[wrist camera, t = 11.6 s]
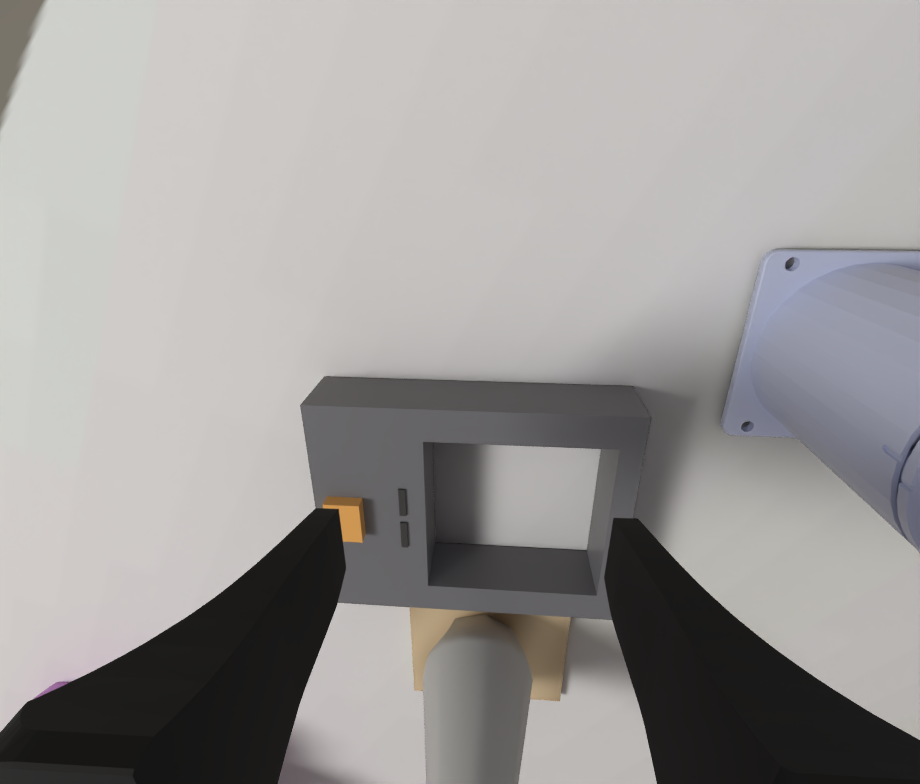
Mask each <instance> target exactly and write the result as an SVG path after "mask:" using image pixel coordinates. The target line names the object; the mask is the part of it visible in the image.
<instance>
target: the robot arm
mask: <svg viewBox="0 0 920 784" xmlns="http://www.w3.org/2000/svg"><path fill="white" fill-rule="evenodd" d="M792 257H793V258H794V264H793V265H792V267H790V268H789V269H786V268H785V263H786V261H787V260H788V259H790V258H792ZM747 421H750V423H749V425H748V426H746V427H741V426H742V424H743V423H744V422H747ZM721 427H722V429H723V430H724V432H725V433H727V434H728V435H733V436H760V437H787V438H797V439H798V440H799V441H800V442H802V443H803V444H804V445H805V446H806V447H807V448H808V449H809V450H810V451H811V452H812V453H813V454H815V455H816V456H817V457H818V458H819V459H820V460H821V461H822V462H823V463H824V464H825V465H826V466H827V467H829V468H830V469H831V470H832V471H833V472H834V473H835V474H836V475H837V476H838V477H839V478H840V479H841V480H843V481H844V482H845V483H846V484H847V485H848V486H849V487H850V488H851V489H852V490H853V491H854V492H856V493H857V494H858V495H859V496H860V497H861V498H862V499H863V500H864V501H865V502H866V503H867V504H868V505H870V506H871V507H872V508H873V509H874V510H875V511H876V512H877V513H878V514H879V515H880V516H881V517H882V518H884V519H885V520H886V521H887V522H888V523H889V524H890V525H891V526H892V527H893V528H894V529H895V530H896V531H898V532H899V533H900V534H901V535H902V536H903V537H904V538H905V539H906V540H907V541H908V542H909V543H911V544H912V545H913V546H914V547H915V548H916V549H917V550H918V552H919V553H920V251H899V250H813V249H775V250H771V251H769V252H768V253H766V254H765V255H764V257H763V258H762V260H761V263H760V267H759V271H758V275H757V279H756V283H755V287H754V291H753V295H752V299H751V303H750V307H749V311H748V315H747V319H746V323H745V327H744V331H743V335H742V339H741V343H740V347H739V351H738V355H737V359H736V363H735V367H734V371H733V375H732V379H731V383H730V387H729V391H728V395H727V399H726V403H725V407H724V411H723V415H722V419H721ZM345 571H346V562H345V554H344V546H343V538H342V530H341V523H340V515H339V509H327V508H316V509H315V510H314V511H313V512H312V513H310V514H309V515H308V516H307V517H306V518H305V519H304V520H303V521H302V522H301V523H300V524H299V525H298V526H297V527H296V528H295V529H294V530H292V531H291V532H290V533H289V534H288V535H287V536H286V537H285V538H284V539H283V540H282V541H281V542H280V543H279V544H278V545H277V546H275V547H274V548H273V549H272V550H271V551H270V552H269V553H268V554H267V555H266V556H264V557H263V558H262V559H261V560H260V561H259V562H258V563H257V564H256V565H254V566H253V567H252V568H251V569H250V570H248V571H247V572H246V573H245V574H244V575H242V576H241V577H240V578H239V579H238V580H236V581H235V582H234V583H233V584H232V585H230V586H229V587H228V588H227V589H225V590H224V591H223V592H221V593H220V594H219V595H217V596H216V597H215V598H213V599H212V600H211V601H209V602H208V603H206V604H205V605H203V606H202V607H201V608H199V609H198V610H196V611H195V612H194V613H192V614H191V615H189V616H188V617H186V618H185V619H183V620H181V621H180V622H178V623H177V624H175V625H173V626H172V627H170V628H169V629H167V630H165V631H164V632H162V633H161V634H159V635H157V636H156V637H154V638H153V639H151V640H149V641H148V642H146V643H144V644H143V645H141V646H139V647H137V648H136V649H134V650H132V651H130V652H128V653H127V654H125V655H123V656H121V657H119V658H117V659H116V660H114V661H112V662H110V663H108V664H106V665H104V666H102V667H100V668H99V669H97V670H95V671H93V672H91V673H89V674H87V675H85V676H83V677H80V678H78V679H76V680H74V681H72V682H70V683H68V684H65V685H63V686H61V687H59V688H57V689H55V690H53V691H50V692H48V693H46V694H44V695H42V696H40V697H38V698H35V699H33V700H31V701H28V702H27V703H26V704H25V705H24V706H23V707H22V708H21V709H20V710H19V712H18V713H17V714H16V715H15V716H14V717H13V719H12V720H11V721H10V722H9V723H8V724H7V725H6V727H5V728H4V729H3V730H2V731H1V732H0V784H277V783H278V780H279V776H280V772H281V768H282V765H283V761H284V757H285V753H286V750H287V746H288V743H289V739H290V735H291V732H292V728H293V725H294V721H295V718H296V714H297V711H298V707H299V704H300V701H301V698H302V696H303V693H304V690H305V687H306V684H307V682H308V679H309V676H310V674H311V671H312V669H313V666H314V664H315V661H316V658H317V656H318V653H319V651H320V648H321V646H322V643H323V640H324V638H325V635H326V633H327V630H328V627H329V625H330V622H331V620H332V617H333V614H334V612H335V609H336V606H337V603H338V599H339V595H340V592H341V588H342V584H343V580H344V575H345ZM604 580H605V586H606V592H607V597H608V603H609V608H610V613H611V617H612V620H613V624H614V627H615V630H616V634H617V637H618V640H619V643H620V646H621V650H622V653H623V656H624V659H625V662H626V665H627V668H628V672H629V675H630V678H631V681H632V684H633V687H634V690H635V694H636V697H637V700H638V703H639V707H640V710H641V714H642V718H643V721H644V725H645V729H646V734H647V739H648V743H649V748H650V752H651V757H652V762H653V766H654V771H655V776H656V781H657V784H920V740H918V739H917V738H915V737H913V736H911V735H909V734H908V733H906V732H904V731H902V730H901V729H899V728H897V727H895V726H893V725H892V724H890V723H888V722H886V721H884V720H883V719H881V718H879V717H877V716H875V715H874V714H872V713H870V712H869V711H867V710H865V709H864V708H862V707H861V706H859V705H857V704H856V703H854V702H853V701H851V700H849V699H848V698H846V697H844V696H843V695H841V694H840V693H838V692H836V691H835V690H833V689H832V688H830V687H829V686H827V685H826V684H824V683H823V682H821V681H820V680H818V679H817V678H815V677H814V676H812V675H811V674H809V673H808V672H806V671H805V670H804V669H802V668H801V667H799V666H798V665H796V664H795V663H794V662H792V661H791V660H789V659H788V658H787V657H785V656H784V655H782V654H781V653H780V652H778V651H777V650H776V649H774V648H773V647H772V646H770V645H769V644H768V643H766V642H765V641H764V640H763V639H761V638H760V637H759V636H758V635H756V634H755V633H754V632H753V631H751V630H750V629H749V628H748V627H746V626H745V625H744V624H743V623H741V622H740V621H739V620H738V619H737V618H736V617H734V616H733V615H732V614H731V613H730V612H729V611H727V610H726V609H725V608H724V607H723V606H722V605H721V604H720V603H719V602H718V601H716V600H715V599H714V598H713V597H712V596H711V595H710V594H709V593H708V592H707V591H706V590H705V589H704V588H703V587H702V586H700V585H699V584H698V583H697V582H696V581H695V580H694V579H693V578H692V577H691V576H690V574H689V573H688V572H687V571H686V570H685V569H684V568H683V567H682V566H681V565H680V564H679V563H678V562H677V561H676V560H675V559H674V558H673V557H672V556H671V555H670V554H669V552H668V551H667V550H666V549H665V548H664V547H663V546H662V545H661V544H660V543H659V542H658V540H657V539H656V538H655V537H654V536H653V535H652V534H651V533H650V532H649V531H648V529H647V528H646V527H645V526H644V525H643V524H642V523H641V522H640V521H639V520H638V519H636V518H613V524H612V530H611V537H610V543H609V549H608V556H607V562H606V568H605V575H604Z"/></svg>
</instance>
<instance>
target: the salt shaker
mask: <svg viewBox="0 0 920 784" xmlns="http://www.w3.org/2000/svg"><path fill="white" fill-rule="evenodd" d="M532 682H533V679H532V674H531V670H530V667H529V664H528V661H527V658H526V655H525V653H524V651H523V649H522V647H521V645H520V643H519V641H518V639H517V637H516V635H515V634H514V632H513V630H512V628H510V627H508V626H507V625H505V624H503V623H501V622H500V621H498V620H496V619H494V618H493V617H491V616H489V615H487V614H480V615H474V616H467V617H461V618H455V619H454V621H453V623H452V624H451V626H450V628H449V629H448V631H447V632H446V633H445V634H444V636H443V637H442V638H441V639H440V640H439V642H438V643H437V644H436V645H435V646H434V648H433V649H432V650H431V651H430V652H429V655H428V658H427V661H426V666H425V670H424V675H423V693H424V726H425V759H426V784H518V781H519V774H520V767H521V760H522V753H523V746H524V739H525V732H526V725H527V717H528V710H529V703H530V696H531V689H532Z"/></svg>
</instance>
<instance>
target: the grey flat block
mask: <svg viewBox="0 0 920 784" xmlns="http://www.w3.org/2000/svg"><path fill="white" fill-rule="evenodd" d="M300 407H301V413H302V420H303V427H304V433H305V440H306V447H307V453H308V460H309V467H310V473H311V480H312V487H313V493H314V500H315V507H316V508H327V509H339V515H340V523H341V530H342V538H343V546H344V554H345V562H346V571H345V575H344V580H343V584H342V588H341V592H340V595H339V599H338V603H351V604H367V605H383V606H399V607H415V608H431V609H446V610H462V611H478V612H494V613H510V614H526V615H542V616H558V617H573V618H589V619H605V620H612V617H611V613H610V608H609V603H608V597H607V592H606V586H605V580H604V575H605V568H606V562H607V556H608V549H609V543H610V537H611V530H612V524H613V518H633V515H634V509H635V504H636V499H637V493H638V488H639V482H640V477H641V471H642V466H643V460H644V455H645V449H646V444H647V438H648V433H649V427H650V422H651V416H650V414H649V413H648V411H647V409H646V408H645V406H644V404H643V403H642V401H641V399H640V398H639V396H638V394H637V392H636V391H635V389H634V387H633V386H611V385H579V384H546V383H514V382H481V381H448V380H416V379H383V378H351V377H323V379H322V380H321V381H320V382H319V383H318V385H317V386H316V387H315V388H314V389H313V391H312V392H311V393H310V394H309V395H308V397H307V398H306V399H305V400H304V401H303V403H302V404H301V405H300ZM433 442H440V443H465V444H490V445H516V446H541V447H566V448H592V449H601V453H600V460H599V467H598V474H597V482H596V489H595V496H594V503H593V510H592V518H591V525H590V532H589V539H588V547H587V551H582V550H563V549H544V548H526V547H507V546H489V545H470V544H451V543H436V540H435V501H434V463H433Z"/></svg>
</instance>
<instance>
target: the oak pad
mask: <svg viewBox="0 0 920 784" xmlns="http://www.w3.org/2000/svg"><path fill="white" fill-rule="evenodd" d="M480 614H487V615H489V616H491V617H493V618H494V619H496V620H498V621H500V622H501V623H503V624H505V625H507V626H508V627H510V628H512V630H513V632H514V634H515V635H516V637H517V639H518V641H519V643H520V645H521V647H522V649H523V651H524V653H525V655H526V658H527V661H528V664H529V667H530V670H531V674H532V679H533V682H532V689H531V696H530V699H537V700H550V701H560V696H561V688H562V681H563V673H564V665H565V658H566V650H567V642H568V635H569V627H570V619H571V617H558V616H542V615H526V614H510V613H494V612H478V611H462V610H446V609H431V608H415V607H410V620H411V638H412V655H413V672H414V689H415V690H417V691H423V675H424V670H425V666H426V661H427V658H428V655H429V652H430V651H431V650H432V649H433V648H434V646H435V645H436V644H437V643H438V642H439V640H440V639H441V638H442V637H443V636H444V634H445V633H446V632H447V631H448V629H449V628H450V626H451V624H452V623H453V621H454V619H455V618H461V617H467V616H474V615H480Z"/></svg>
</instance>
